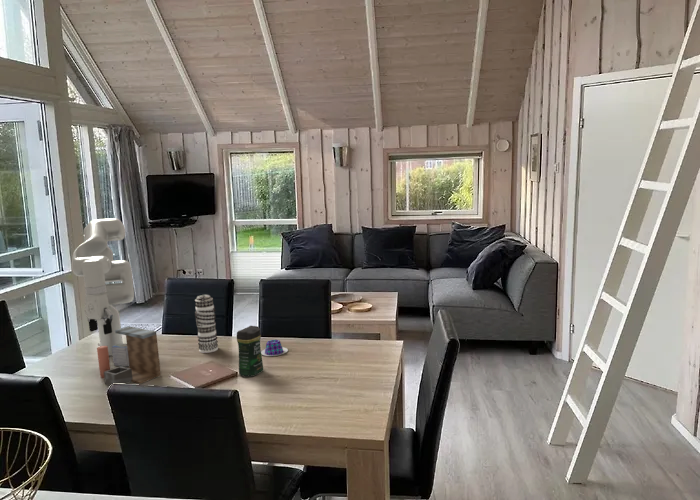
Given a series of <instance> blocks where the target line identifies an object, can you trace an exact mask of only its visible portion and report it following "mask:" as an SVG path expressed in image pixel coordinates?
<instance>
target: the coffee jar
mask: <svg viewBox="0 0 700 500" xmlns="http://www.w3.org/2000/svg"><path fill="white" fill-rule="evenodd" d="M261 338H262V333H261V329H260V327H259V326H257V325H249V326H247V327H243V328H242V329H240V330H237V331H236V342H237V346H238V347H237V348H238V373H239V376H242V377H245V378H248V377H255V376H257V375H259V374H260V373H262V372H263V371H264V364H263V357H262V356H263V355H262V354H261V351H262V349H261Z"/></svg>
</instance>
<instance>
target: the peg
mask: <svg viewBox="0 0 700 500" xmlns="http://www.w3.org/2000/svg"><path fill="white" fill-rule="evenodd" d="M96 352H97V360H98V371H99V376H100V378H101V379H102V378H103V379H105V378H104V372H105V371H108V370H110V369H111V364H110V363H111V362H110V356H109V353H108V346H98V347H96Z"/></svg>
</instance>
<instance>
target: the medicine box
mask: <svg viewBox="0 0 700 500" xmlns="http://www.w3.org/2000/svg"><path fill="white" fill-rule="evenodd" d="M112 354H113V355H112V361H113V366H116V367H119V366H123V367H127V368H130V366H129V358H128V349H127V343H123V344H121V343H118V344H116V345H114V346H112Z"/></svg>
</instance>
